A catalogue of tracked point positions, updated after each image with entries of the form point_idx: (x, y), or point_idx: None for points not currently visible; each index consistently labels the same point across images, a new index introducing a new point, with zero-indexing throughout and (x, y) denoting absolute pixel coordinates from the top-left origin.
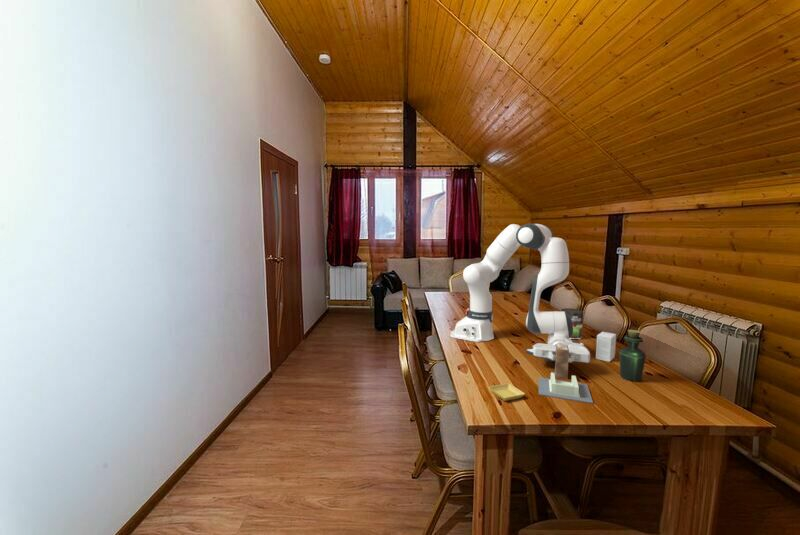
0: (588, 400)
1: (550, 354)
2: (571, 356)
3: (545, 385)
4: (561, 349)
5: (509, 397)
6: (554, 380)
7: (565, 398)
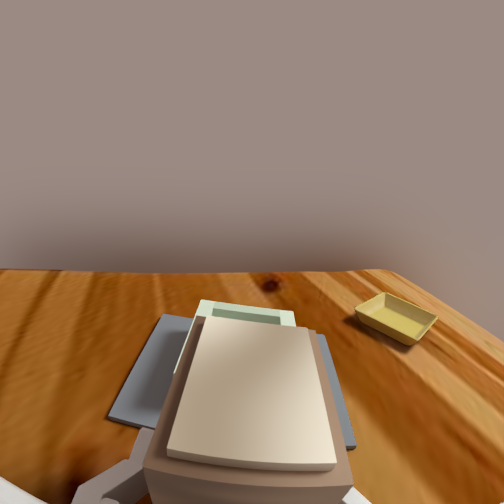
0: (172, 320)
1: (357, 499)
2: (127, 467)
3: None
4: (270, 329)
5: (377, 296)
6: None
7: None
